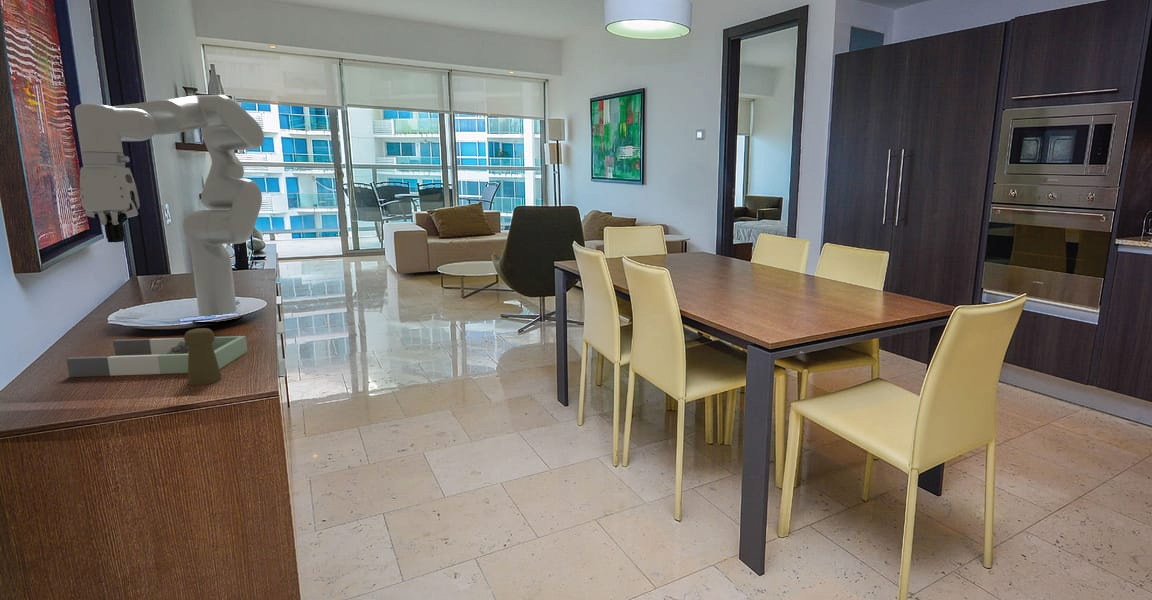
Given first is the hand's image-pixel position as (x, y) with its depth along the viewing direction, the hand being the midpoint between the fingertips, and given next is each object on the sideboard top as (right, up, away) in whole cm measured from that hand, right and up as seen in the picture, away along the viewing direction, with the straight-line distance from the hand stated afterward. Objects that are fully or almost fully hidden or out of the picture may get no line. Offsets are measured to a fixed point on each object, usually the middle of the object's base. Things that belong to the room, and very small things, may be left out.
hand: (116, 241), depth 136 cm
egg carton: (+22, -29, -2) cm, 36 cm away
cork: (+31, -31, -15) cm, 46 cm away
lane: (+13, -28, -3) cm, 31 cm away
